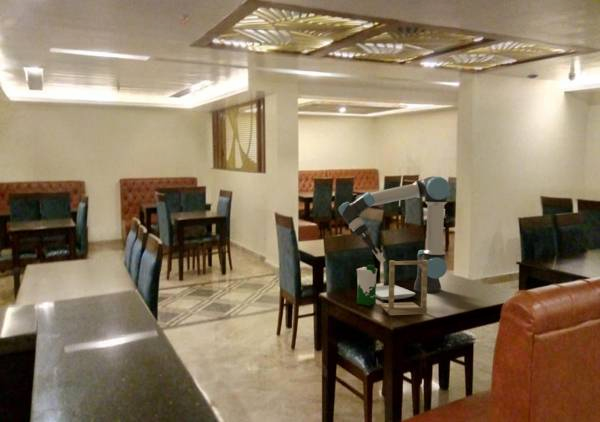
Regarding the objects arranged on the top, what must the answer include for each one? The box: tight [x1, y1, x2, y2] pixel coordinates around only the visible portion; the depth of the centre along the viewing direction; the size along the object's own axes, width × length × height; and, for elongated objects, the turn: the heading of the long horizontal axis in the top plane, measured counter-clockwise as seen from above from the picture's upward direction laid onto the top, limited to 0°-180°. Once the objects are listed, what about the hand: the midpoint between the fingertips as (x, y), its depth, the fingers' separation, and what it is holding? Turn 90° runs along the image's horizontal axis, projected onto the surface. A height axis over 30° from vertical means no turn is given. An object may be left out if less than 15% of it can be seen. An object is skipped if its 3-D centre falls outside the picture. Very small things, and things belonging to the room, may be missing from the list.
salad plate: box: [376, 284, 416, 301], centre depth 261 cm, size 21×21×3 cm
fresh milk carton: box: [356, 264, 378, 307], centre depth 245 cm, size 9×9×20 cm
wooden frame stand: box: [379, 259, 428, 316], centre depth 235 cm, size 18×18×26 cm
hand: (382, 260), depth 250 cm, fingers open, 13 cm apart
